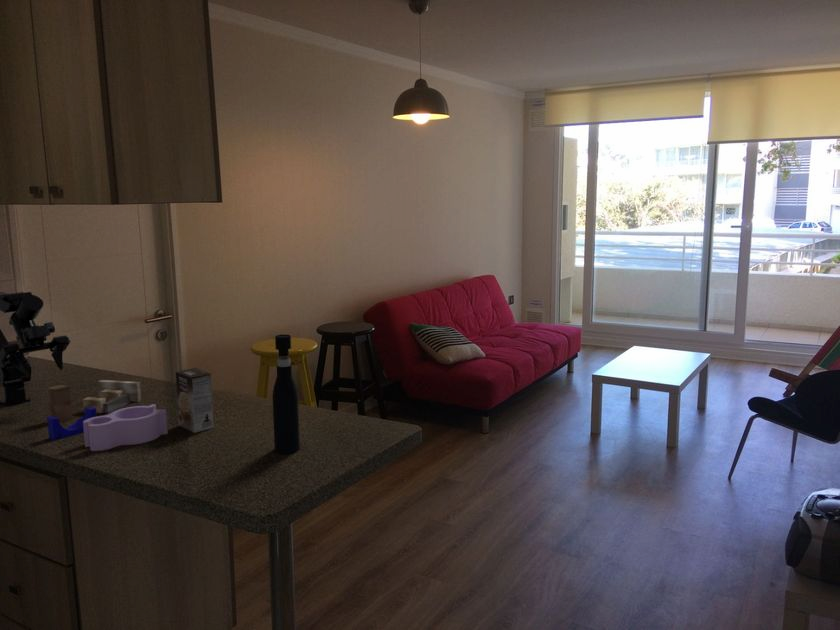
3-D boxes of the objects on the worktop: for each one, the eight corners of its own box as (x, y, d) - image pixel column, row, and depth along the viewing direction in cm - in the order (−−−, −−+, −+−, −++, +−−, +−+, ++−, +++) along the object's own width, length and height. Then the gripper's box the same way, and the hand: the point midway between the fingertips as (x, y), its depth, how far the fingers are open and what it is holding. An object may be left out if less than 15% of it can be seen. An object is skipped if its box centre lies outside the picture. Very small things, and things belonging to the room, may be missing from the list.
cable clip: (89, 425, 195) (87, 405, 194) (97, 428, 193) (95, 408, 192) (46, 437, 186) (44, 416, 185) (54, 441, 183) (52, 419, 182)
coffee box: (177, 425, 194) (174, 371, 192) (198, 420, 199) (195, 367, 196) (194, 433, 188) (190, 377, 185) (215, 427, 193) (211, 372, 190)
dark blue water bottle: (287, 455, 172) (283, 339, 167) (269, 450, 175) (264, 336, 170) (304, 447, 177) (301, 335, 172) (286, 443, 181) (282, 332, 176)
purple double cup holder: (97, 455, 173) (94, 429, 172) (79, 443, 182) (77, 418, 180) (172, 436, 187) (170, 411, 186) (152, 425, 196) (151, 402, 194)
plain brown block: (51, 420, 199) (48, 387, 197) (65, 417, 202) (62, 384, 201) (58, 423, 197) (54, 390, 195) (72, 419, 200) (69, 386, 198)
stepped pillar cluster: (72, 411, 208) (70, 392, 206) (102, 397, 221) (100, 379, 220) (113, 414, 205) (111, 394, 204) (141, 400, 219) (139, 382, 218)
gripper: (0, 318, 194) (21, 365, 190) (65, 309, 209) (86, 352, 205) (-11, 339, 200) (9, 384, 196) (54, 329, 215) (73, 371, 211)
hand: (46, 372), depth 202 cm, fingers open, 9 cm apart
